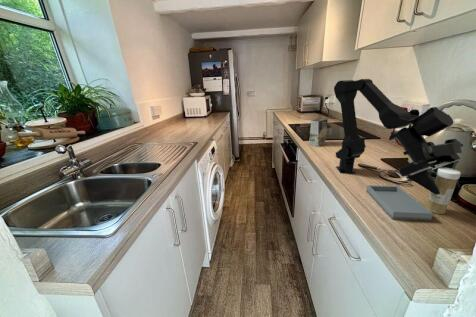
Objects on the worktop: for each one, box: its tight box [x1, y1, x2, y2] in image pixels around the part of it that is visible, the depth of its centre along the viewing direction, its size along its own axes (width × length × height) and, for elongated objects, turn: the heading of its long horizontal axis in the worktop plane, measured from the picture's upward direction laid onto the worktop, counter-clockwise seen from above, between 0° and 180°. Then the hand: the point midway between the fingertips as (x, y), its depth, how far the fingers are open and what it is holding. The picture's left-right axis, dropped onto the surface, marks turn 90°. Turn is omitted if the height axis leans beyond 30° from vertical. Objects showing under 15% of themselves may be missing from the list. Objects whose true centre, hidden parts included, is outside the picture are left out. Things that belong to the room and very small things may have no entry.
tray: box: [365, 185, 434, 222], centre depth 64 cm, size 16×10×2 cm, turn 172°
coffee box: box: [308, 118, 328, 147], centre depth 127 cm, size 9×6×16 cm
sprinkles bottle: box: [425, 168, 462, 215], centre depth 58 cm, size 5×5×14 cm
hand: (448, 190), depth 57 cm, fingers open, 9 cm apart
